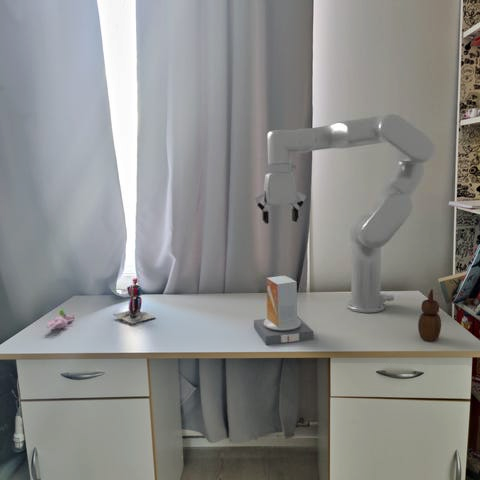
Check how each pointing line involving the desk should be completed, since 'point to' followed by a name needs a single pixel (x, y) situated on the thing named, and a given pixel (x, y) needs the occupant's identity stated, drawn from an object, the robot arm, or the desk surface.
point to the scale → (282, 332)
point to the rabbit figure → (60, 320)
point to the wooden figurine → (429, 319)
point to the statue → (134, 307)
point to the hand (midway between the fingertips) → (280, 222)
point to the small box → (282, 301)
